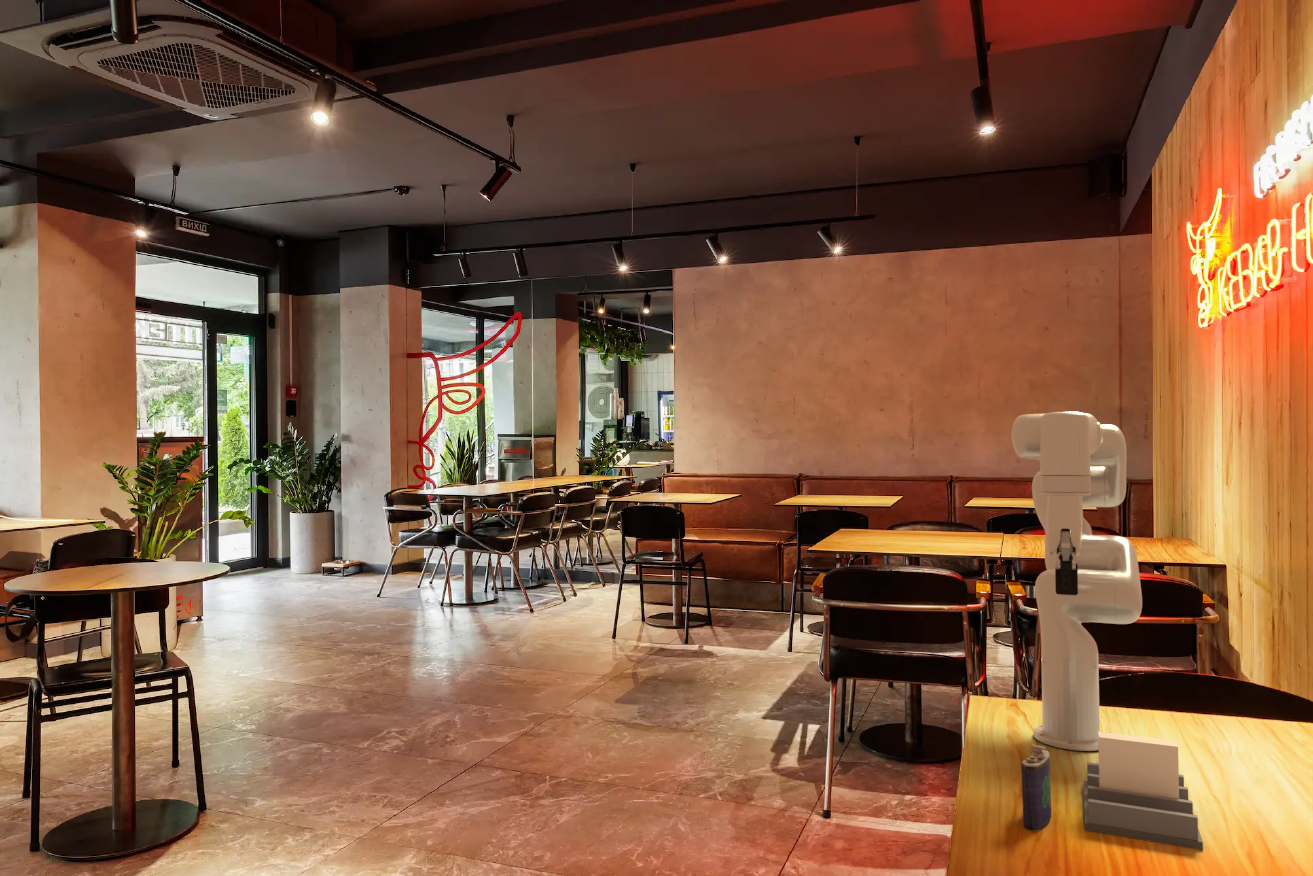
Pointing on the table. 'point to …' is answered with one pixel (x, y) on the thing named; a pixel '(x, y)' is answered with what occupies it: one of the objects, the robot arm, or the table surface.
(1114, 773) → the beige square block
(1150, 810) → the rack
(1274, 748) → the table surface
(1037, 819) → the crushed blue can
